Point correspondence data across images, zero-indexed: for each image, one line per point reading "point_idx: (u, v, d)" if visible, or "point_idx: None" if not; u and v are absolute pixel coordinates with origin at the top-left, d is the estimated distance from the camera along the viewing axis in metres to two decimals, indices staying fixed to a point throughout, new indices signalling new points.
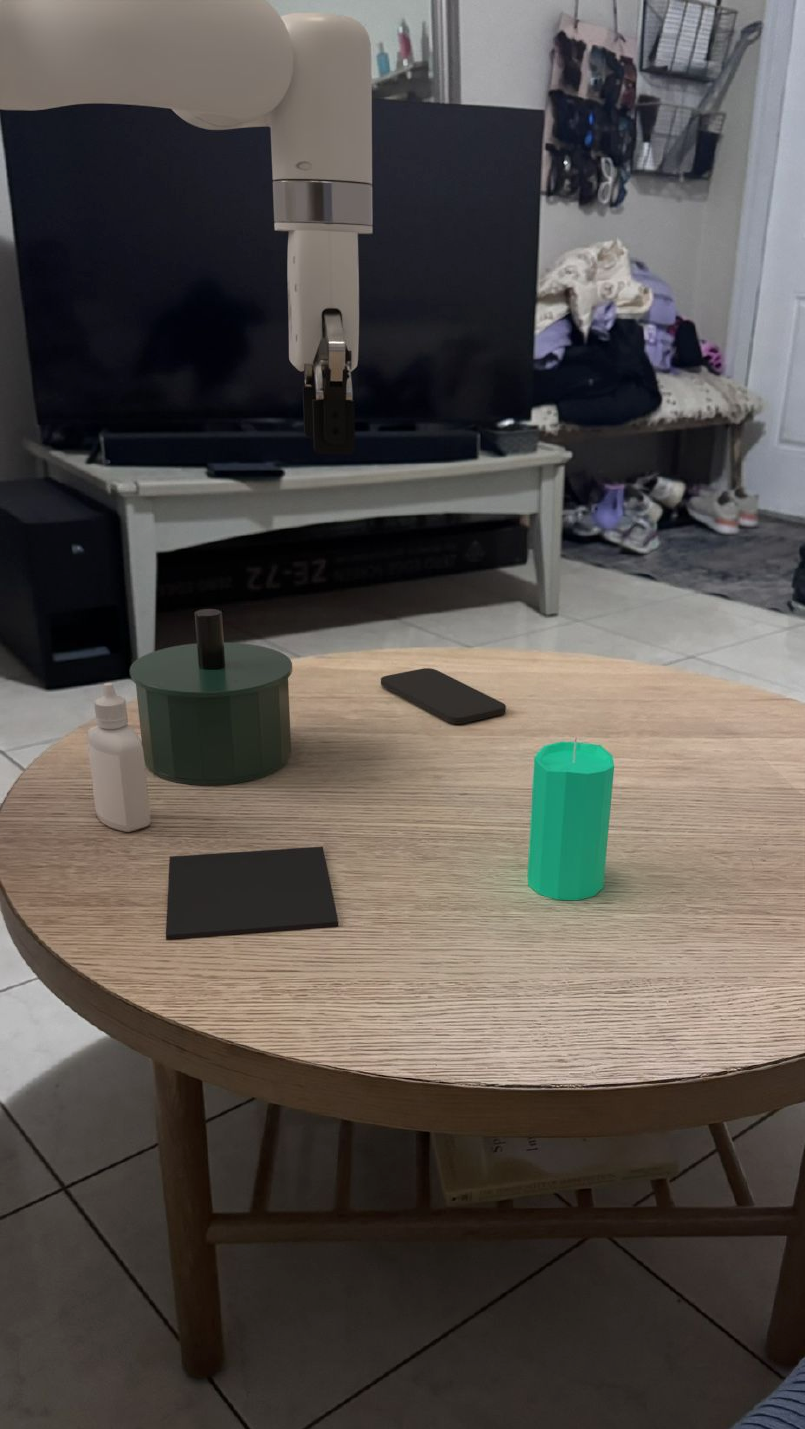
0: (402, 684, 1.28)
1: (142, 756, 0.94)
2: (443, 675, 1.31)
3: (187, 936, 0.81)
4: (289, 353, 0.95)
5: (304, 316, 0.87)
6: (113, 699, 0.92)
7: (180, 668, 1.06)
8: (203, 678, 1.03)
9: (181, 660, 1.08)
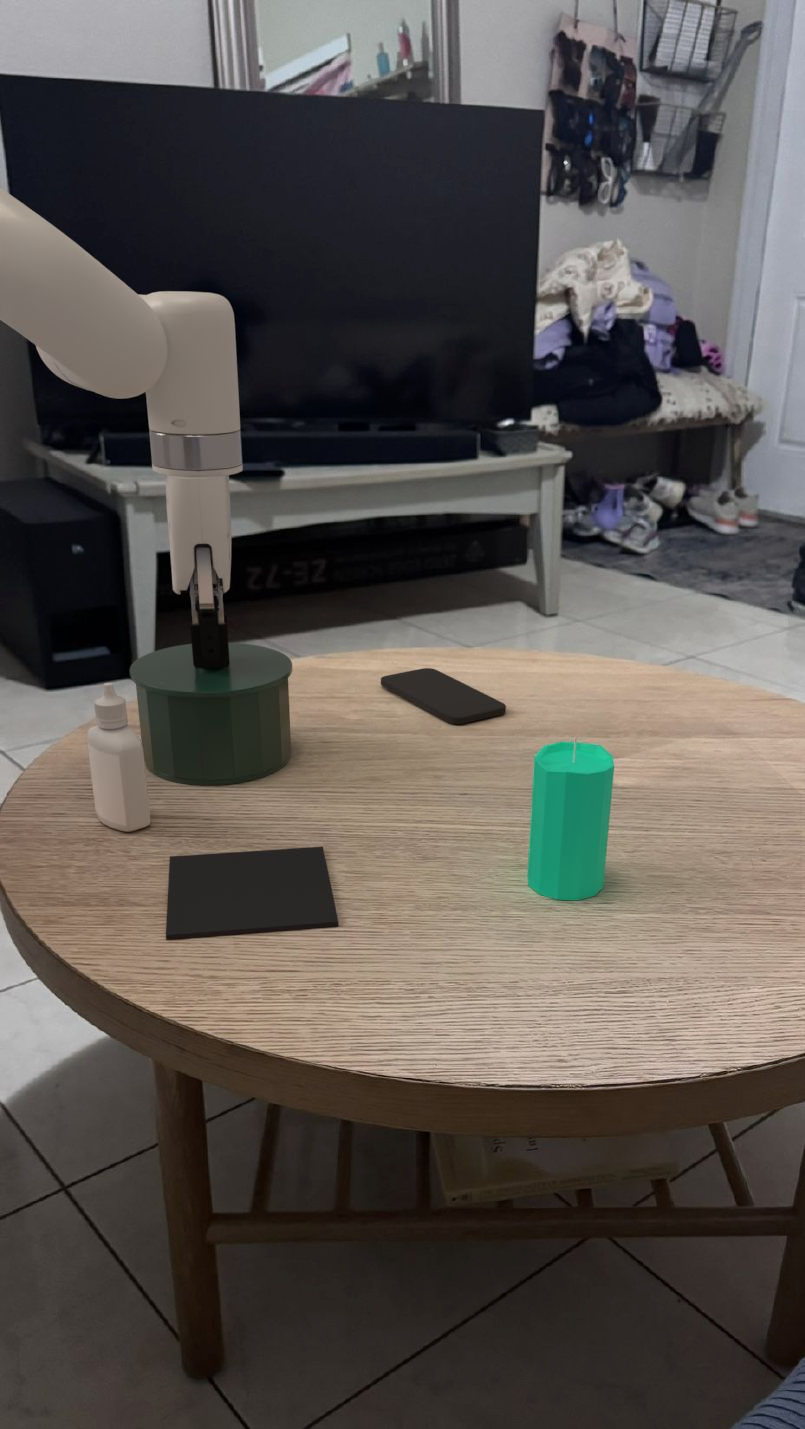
0: (402, 684, 1.28)
1: (142, 756, 0.94)
2: (443, 675, 1.31)
3: (187, 936, 0.81)
4: None
5: (177, 551, 0.97)
6: (113, 699, 0.92)
7: (180, 668, 1.06)
8: (203, 678, 1.03)
9: (181, 660, 1.08)
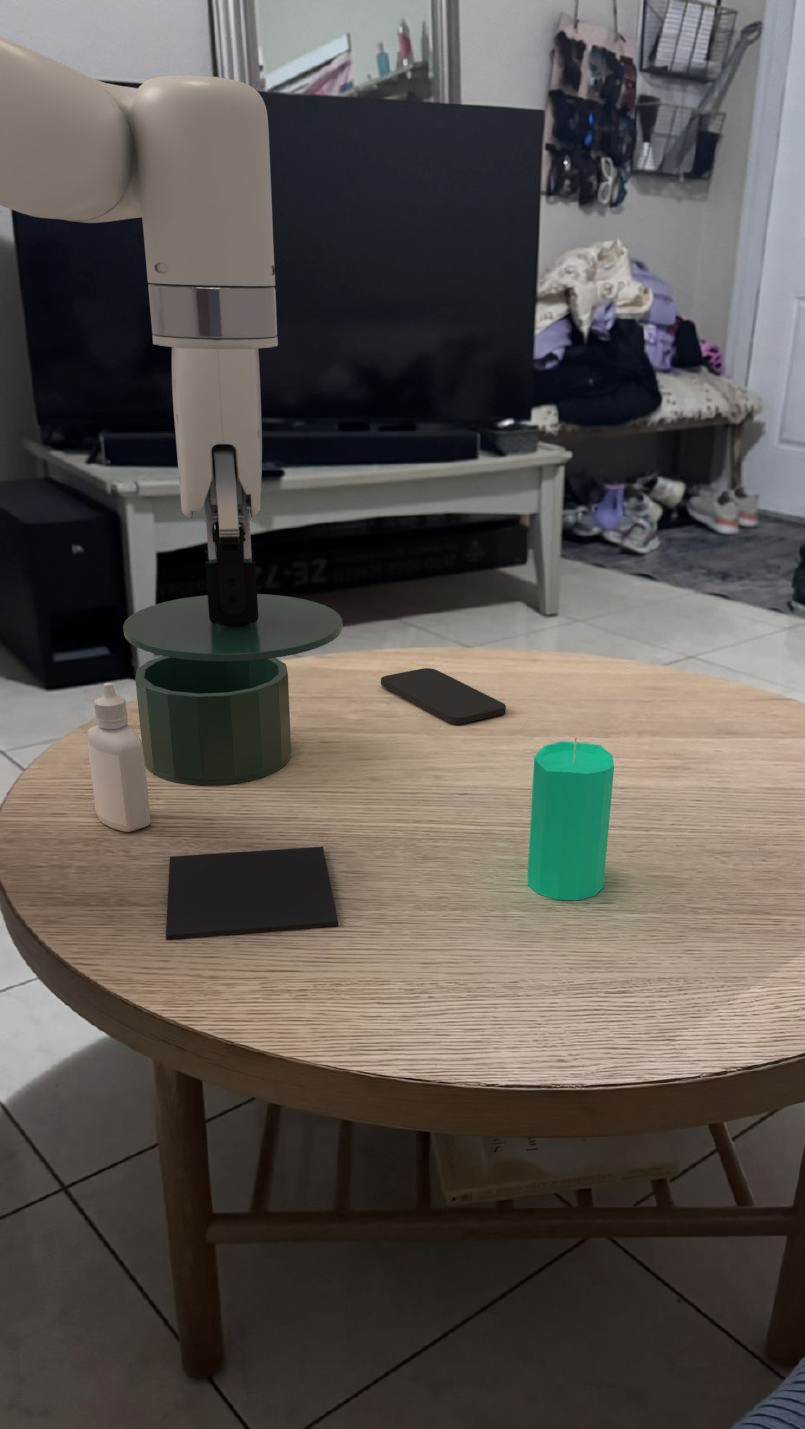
0: (402, 684, 1.28)
1: (142, 756, 0.94)
2: (443, 675, 1.31)
3: (187, 936, 0.81)
4: None
5: (188, 454, 0.69)
6: (113, 699, 0.92)
7: (192, 624, 0.78)
8: (224, 636, 0.76)
9: (193, 614, 0.80)
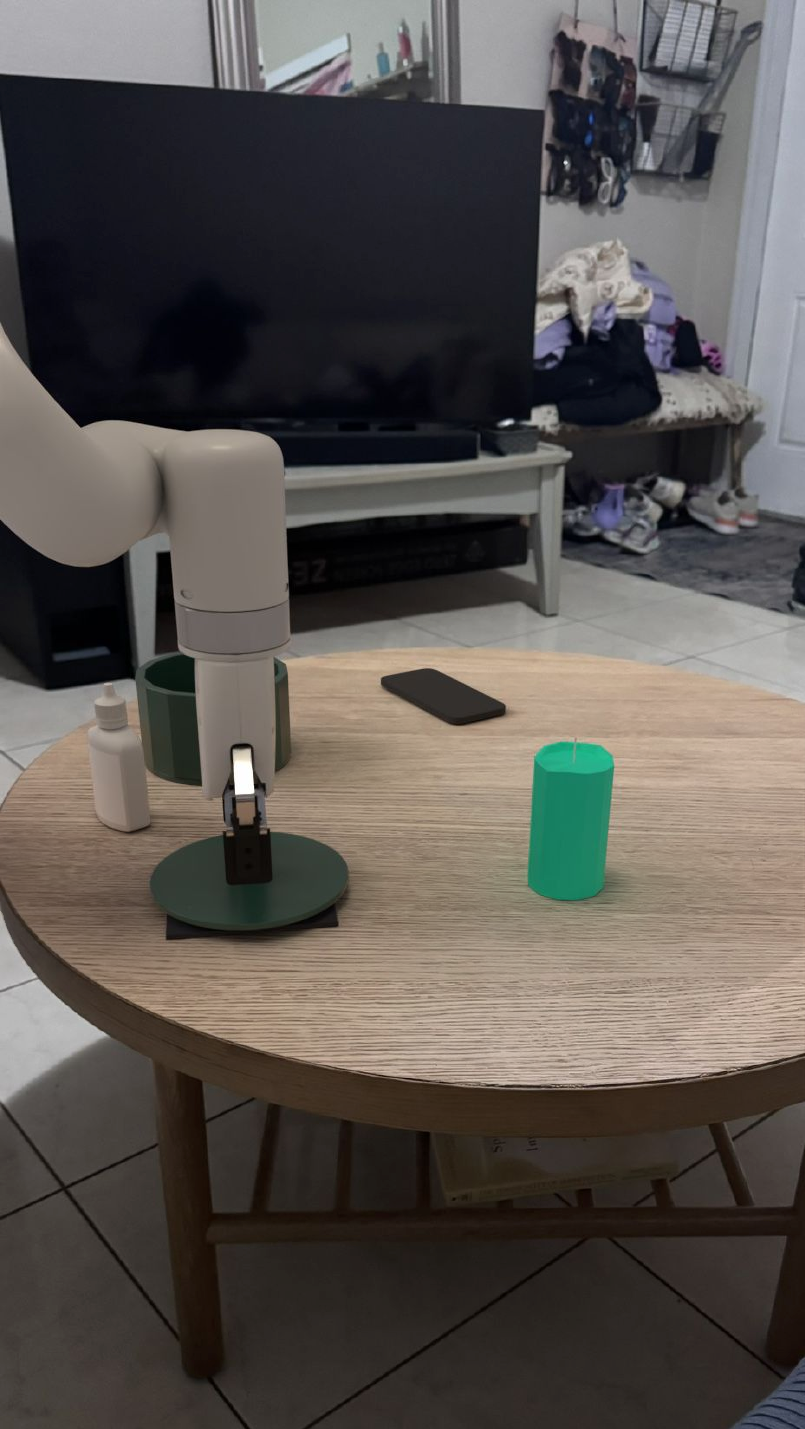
0: (402, 684, 1.28)
1: (142, 756, 0.94)
2: (443, 675, 1.31)
3: (187, 936, 0.81)
4: None
5: (210, 753, 0.77)
6: (113, 699, 0.92)
7: (212, 880, 0.86)
8: (241, 898, 0.83)
9: (212, 865, 0.88)
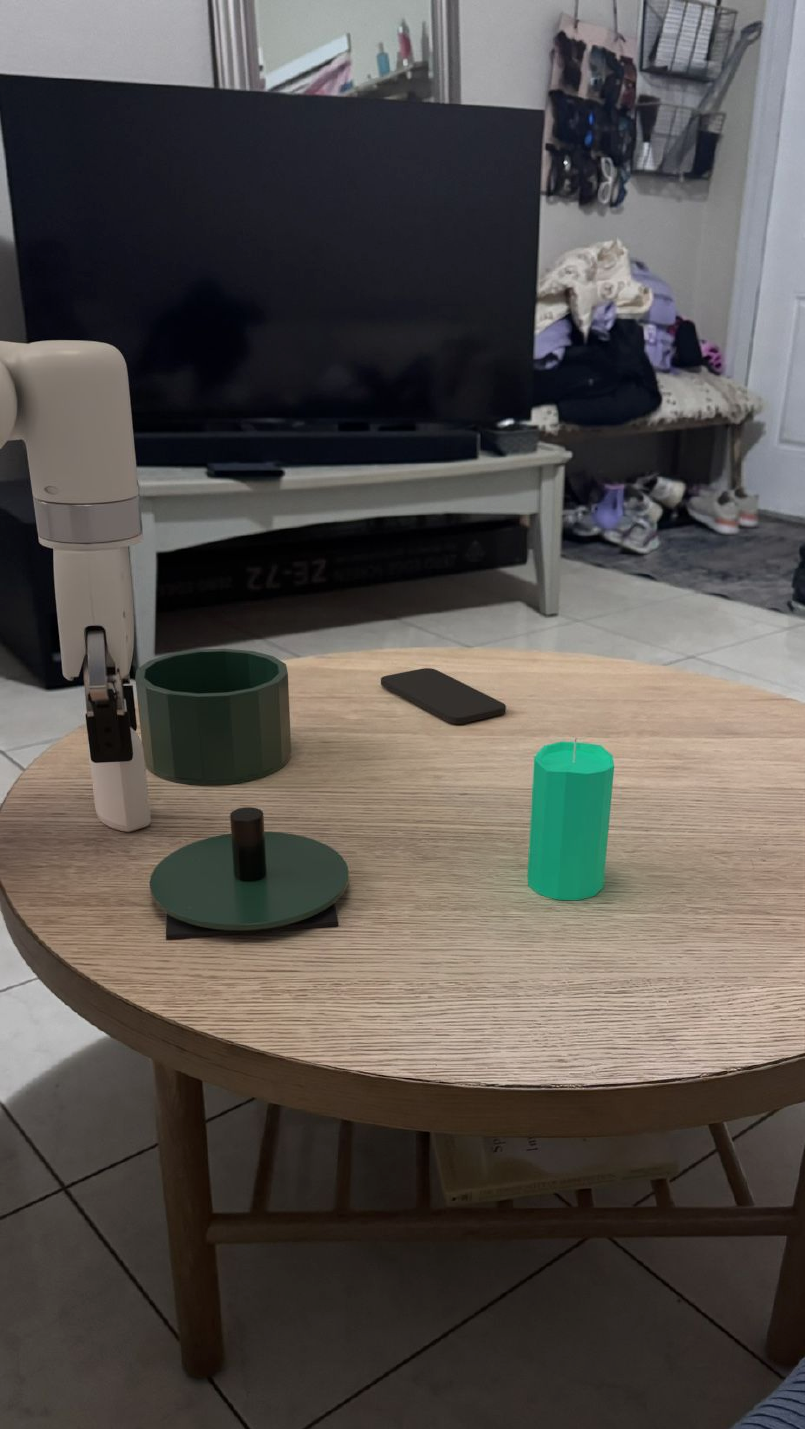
0: (402, 684, 1.28)
1: (142, 756, 0.94)
2: (443, 675, 1.31)
3: (187, 936, 0.81)
4: None
5: (65, 634, 0.85)
6: None
7: (212, 880, 0.86)
8: (241, 898, 0.83)
9: (212, 865, 0.88)
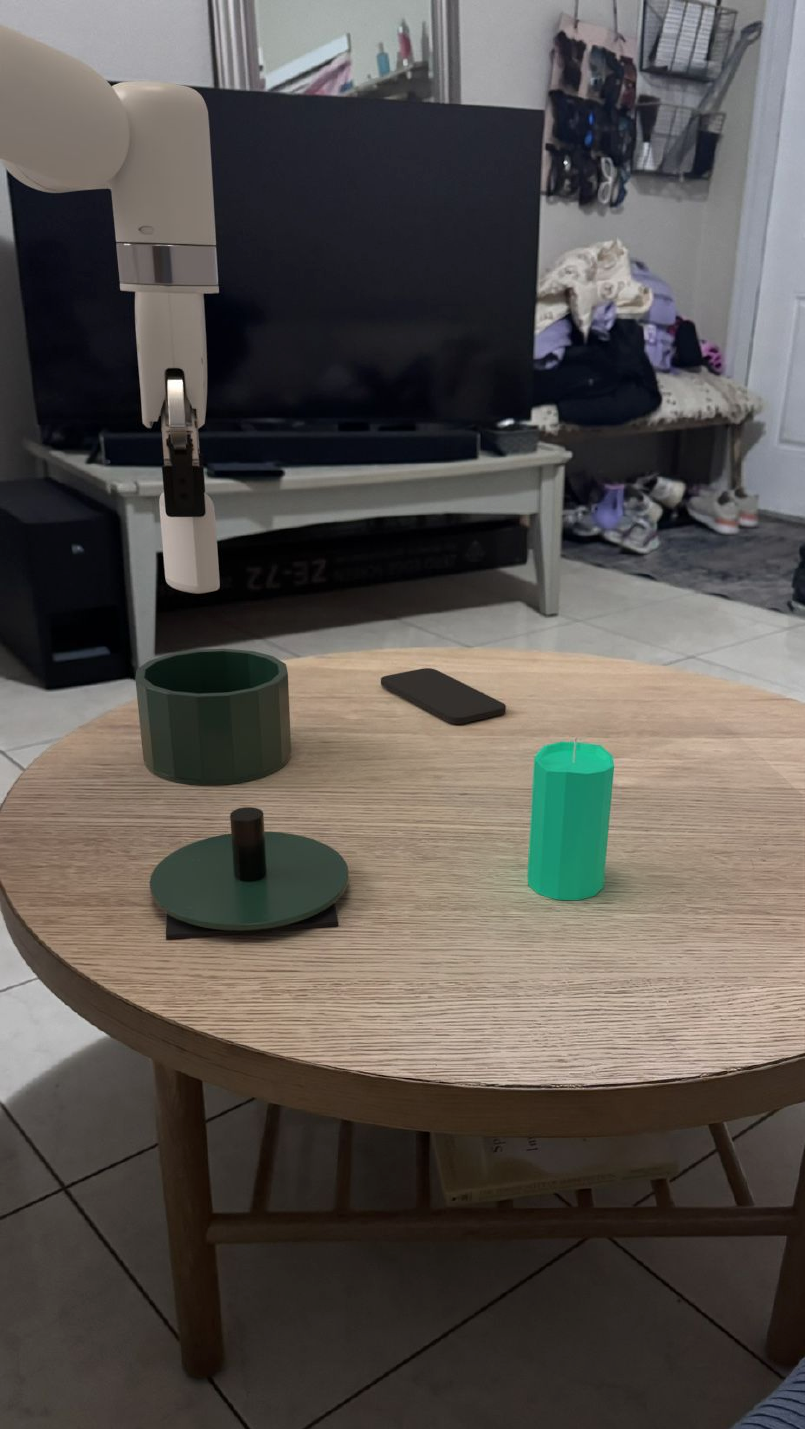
0: (402, 684, 1.28)
1: (213, 516, 0.97)
2: (443, 675, 1.31)
3: (187, 936, 0.81)
4: None
5: (147, 376, 0.89)
6: None
7: (212, 880, 0.86)
8: (241, 898, 0.83)
9: (212, 865, 0.88)
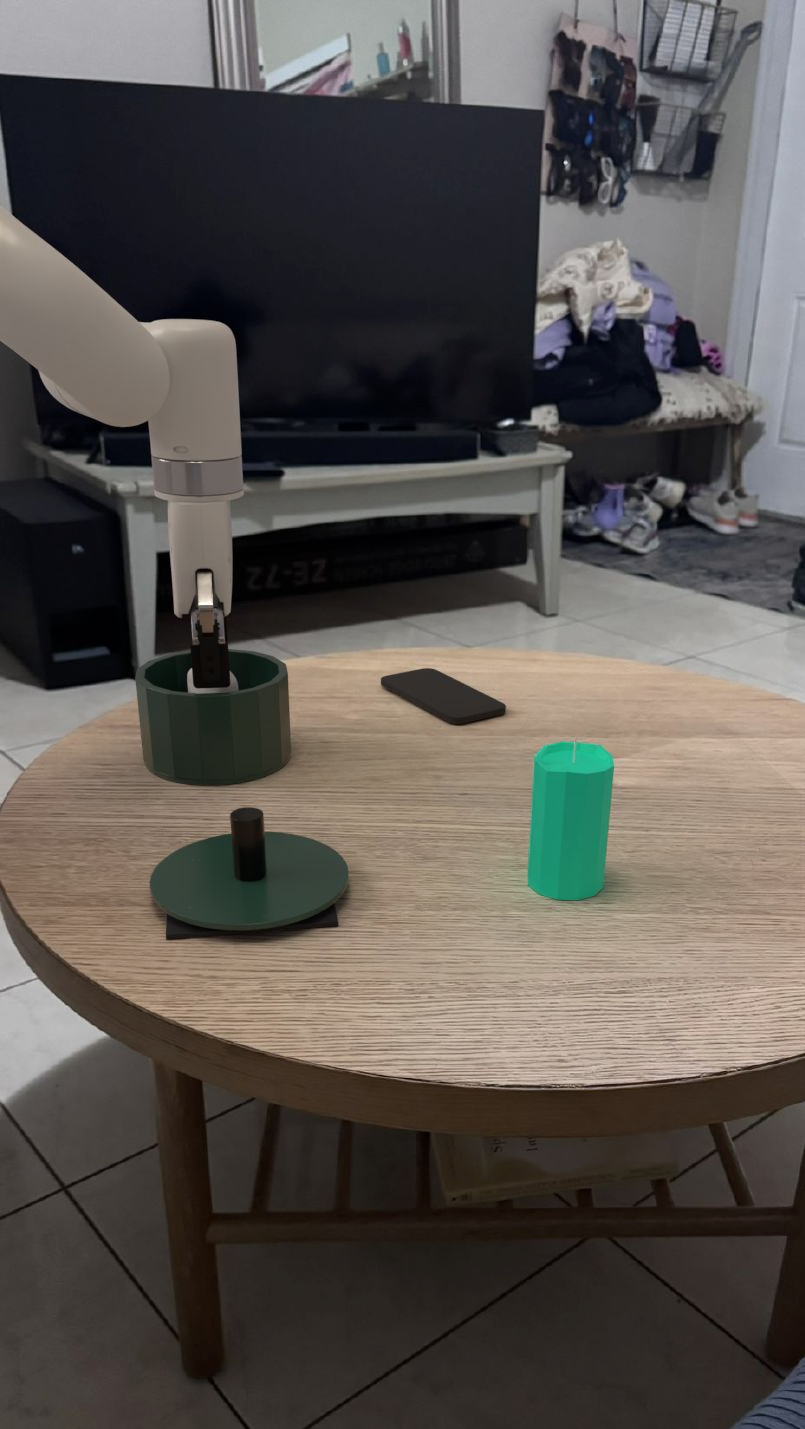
0: (402, 684, 1.28)
1: None
2: (443, 675, 1.31)
3: (187, 936, 0.81)
4: None
5: (179, 575, 0.98)
6: None
7: (212, 880, 0.86)
8: (241, 898, 0.83)
9: (212, 865, 0.88)
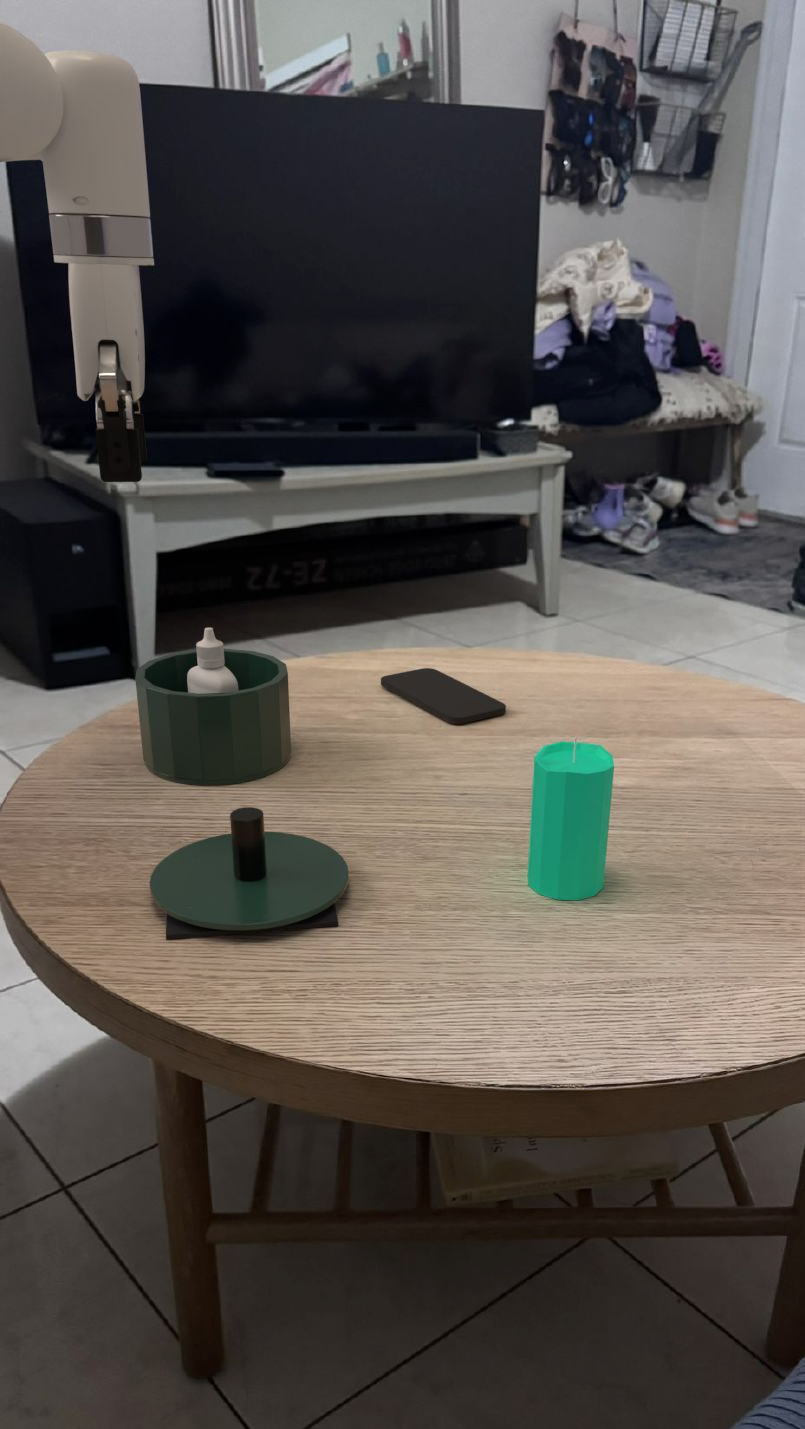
0: (402, 684, 1.28)
1: None
2: (443, 675, 1.31)
3: (187, 936, 0.81)
4: None
5: (80, 347, 0.89)
6: (213, 641, 1.05)
7: (212, 880, 0.86)
8: (241, 898, 0.83)
9: (212, 865, 0.88)
